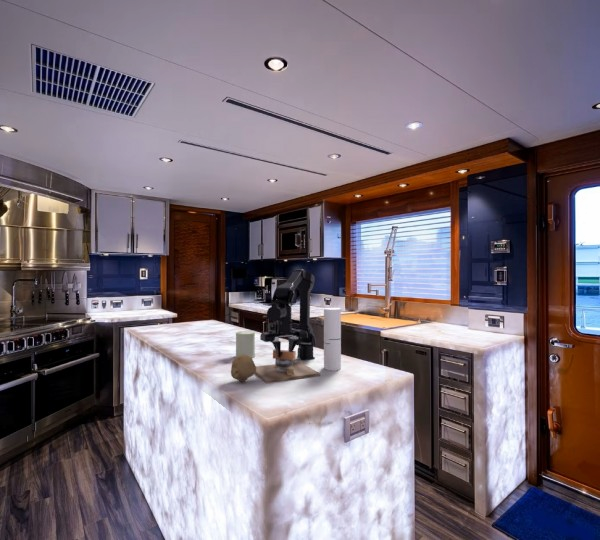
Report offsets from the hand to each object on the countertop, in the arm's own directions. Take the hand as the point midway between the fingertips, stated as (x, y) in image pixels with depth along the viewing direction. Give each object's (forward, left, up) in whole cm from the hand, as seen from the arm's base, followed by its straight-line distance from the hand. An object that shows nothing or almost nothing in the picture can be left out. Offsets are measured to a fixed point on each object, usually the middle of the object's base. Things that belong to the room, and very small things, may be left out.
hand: (284, 356), depth 143 cm
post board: (0, 0, -6) cm, 6 cm away
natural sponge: (+18, +5, -7) cm, 20 cm away
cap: (0, 0, -3) cm, 3 cm away
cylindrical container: (-21, +2, -7) cm, 22 cm away
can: (+7, -33, -7) cm, 34 cm away
